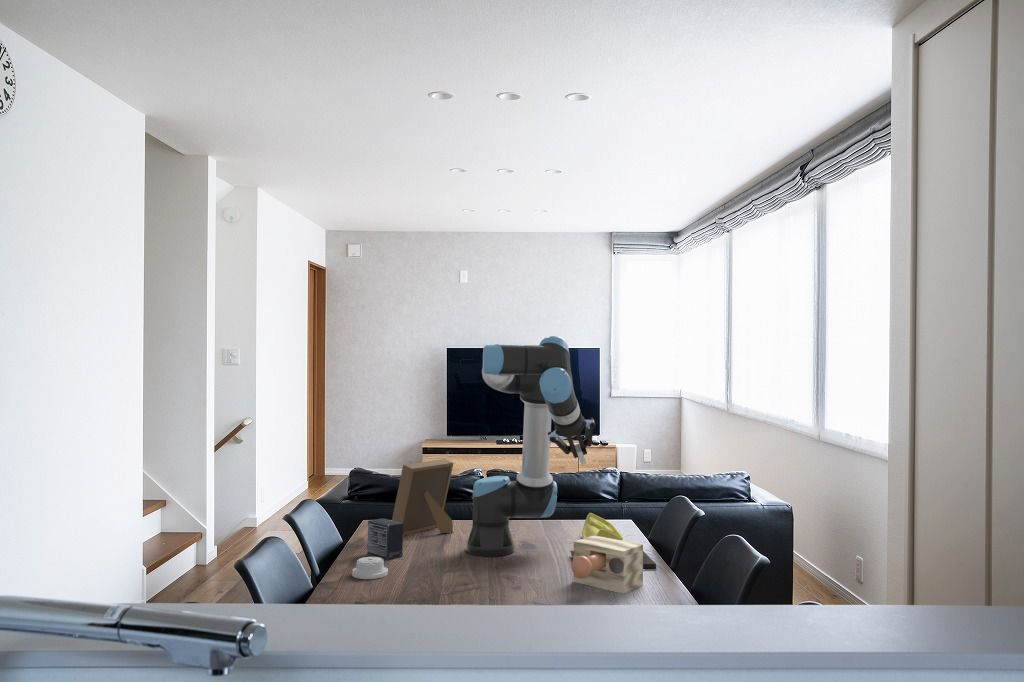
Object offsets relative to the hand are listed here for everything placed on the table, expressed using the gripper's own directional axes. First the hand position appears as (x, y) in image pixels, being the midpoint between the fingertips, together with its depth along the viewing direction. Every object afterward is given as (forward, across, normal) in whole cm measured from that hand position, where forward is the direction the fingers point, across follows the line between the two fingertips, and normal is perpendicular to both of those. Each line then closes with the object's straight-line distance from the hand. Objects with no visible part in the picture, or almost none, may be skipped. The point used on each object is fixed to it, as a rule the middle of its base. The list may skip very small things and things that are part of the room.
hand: (582, 460), depth 204 cm
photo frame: (+50, -61, +23) cm, 82 cm away
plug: (+12, -8, -27) cm, 30 cm away
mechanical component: (+8, -67, -8) cm, 68 cm away
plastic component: (+61, -3, +4) cm, 61 cm away
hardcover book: (+38, -2, -15) cm, 41 cm away
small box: (+24, -68, +5) cm, 72 cm away
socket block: (+20, -5, -27) cm, 34 cm away
